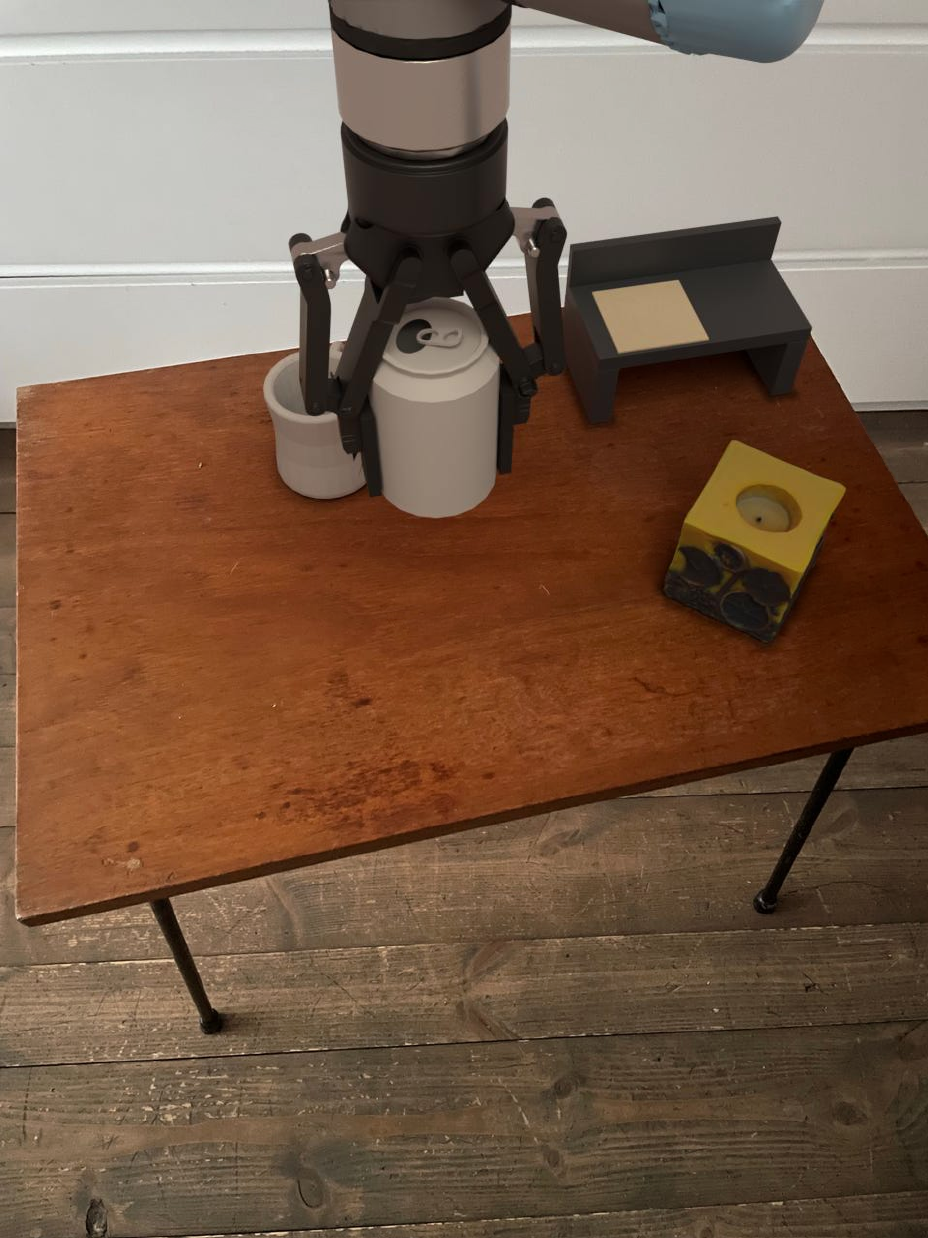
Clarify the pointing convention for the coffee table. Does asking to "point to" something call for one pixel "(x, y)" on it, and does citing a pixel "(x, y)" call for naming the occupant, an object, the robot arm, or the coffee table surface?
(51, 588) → the coffee table surface
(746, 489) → the candle
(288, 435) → the mug
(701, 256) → the shelf
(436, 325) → the can
